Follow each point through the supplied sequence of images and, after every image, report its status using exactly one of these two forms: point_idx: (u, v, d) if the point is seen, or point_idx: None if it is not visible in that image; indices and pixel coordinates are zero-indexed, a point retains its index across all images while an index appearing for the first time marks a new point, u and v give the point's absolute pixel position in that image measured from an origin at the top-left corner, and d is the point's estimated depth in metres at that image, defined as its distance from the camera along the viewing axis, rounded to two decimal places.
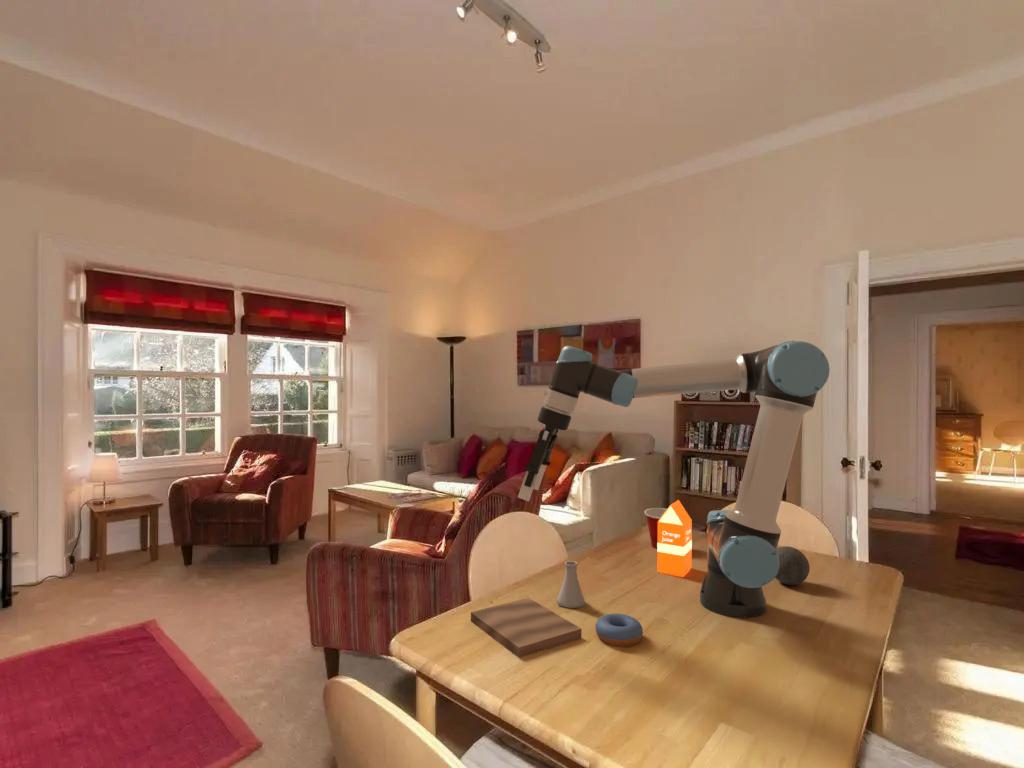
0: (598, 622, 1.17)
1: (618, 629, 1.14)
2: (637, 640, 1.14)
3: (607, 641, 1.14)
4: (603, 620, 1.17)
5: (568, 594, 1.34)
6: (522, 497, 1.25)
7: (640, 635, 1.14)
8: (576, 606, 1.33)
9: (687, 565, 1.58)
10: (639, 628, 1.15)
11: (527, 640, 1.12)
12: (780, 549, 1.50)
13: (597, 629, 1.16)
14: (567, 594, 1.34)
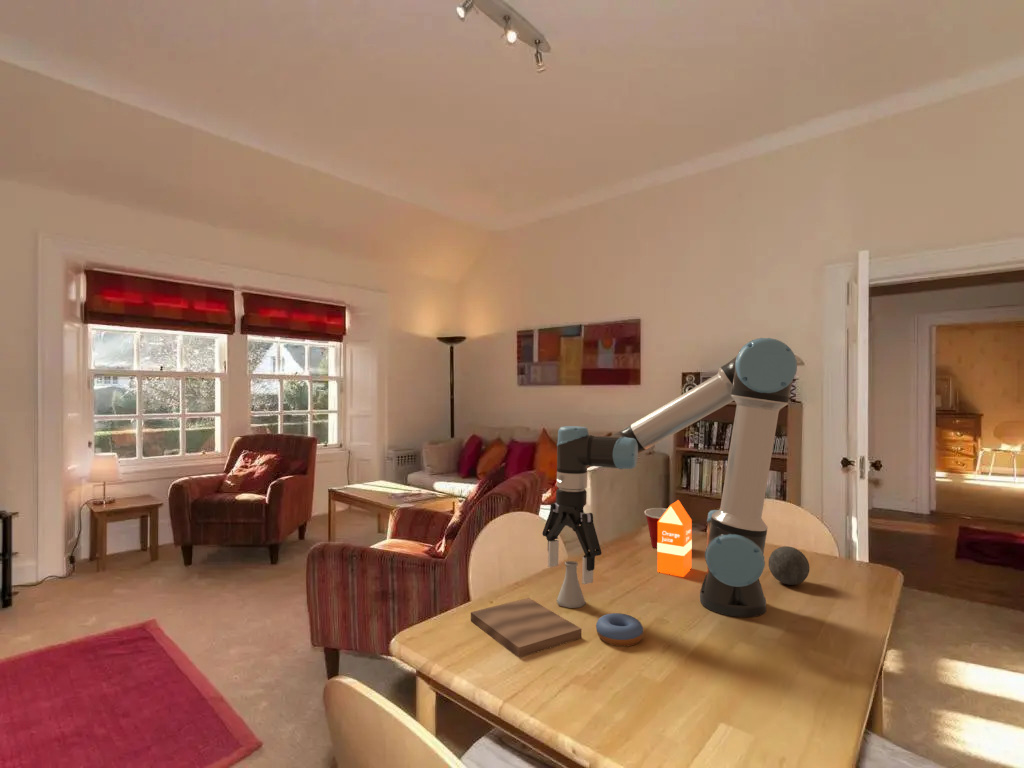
0: (599, 622, 1.17)
1: (619, 629, 1.14)
2: (638, 640, 1.14)
3: (608, 641, 1.14)
4: (604, 620, 1.18)
5: (568, 594, 1.34)
6: (587, 582, 1.30)
7: (641, 635, 1.15)
8: (576, 606, 1.33)
9: (687, 565, 1.58)
10: (640, 628, 1.15)
11: (527, 640, 1.12)
12: (780, 549, 1.50)
13: (598, 629, 1.16)
14: (567, 594, 1.34)
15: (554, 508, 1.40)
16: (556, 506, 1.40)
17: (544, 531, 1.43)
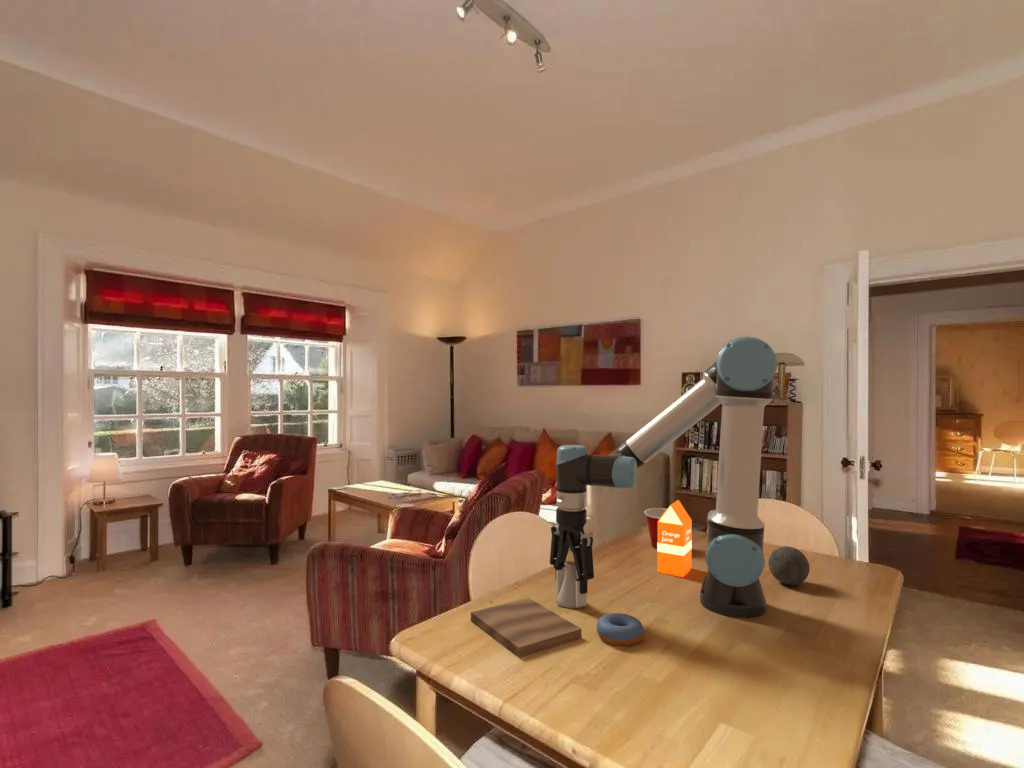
0: (600, 622, 1.17)
1: (619, 628, 1.14)
2: (638, 640, 1.14)
3: (608, 640, 1.14)
4: (604, 620, 1.18)
5: (568, 594, 1.34)
6: (581, 605, 1.32)
7: (641, 635, 1.15)
8: None
9: (687, 565, 1.58)
10: (640, 628, 1.15)
11: (527, 640, 1.12)
12: (780, 549, 1.50)
13: (598, 629, 1.16)
14: (567, 595, 1.34)
15: (555, 530, 1.40)
16: (556, 528, 1.40)
17: (551, 559, 1.41)
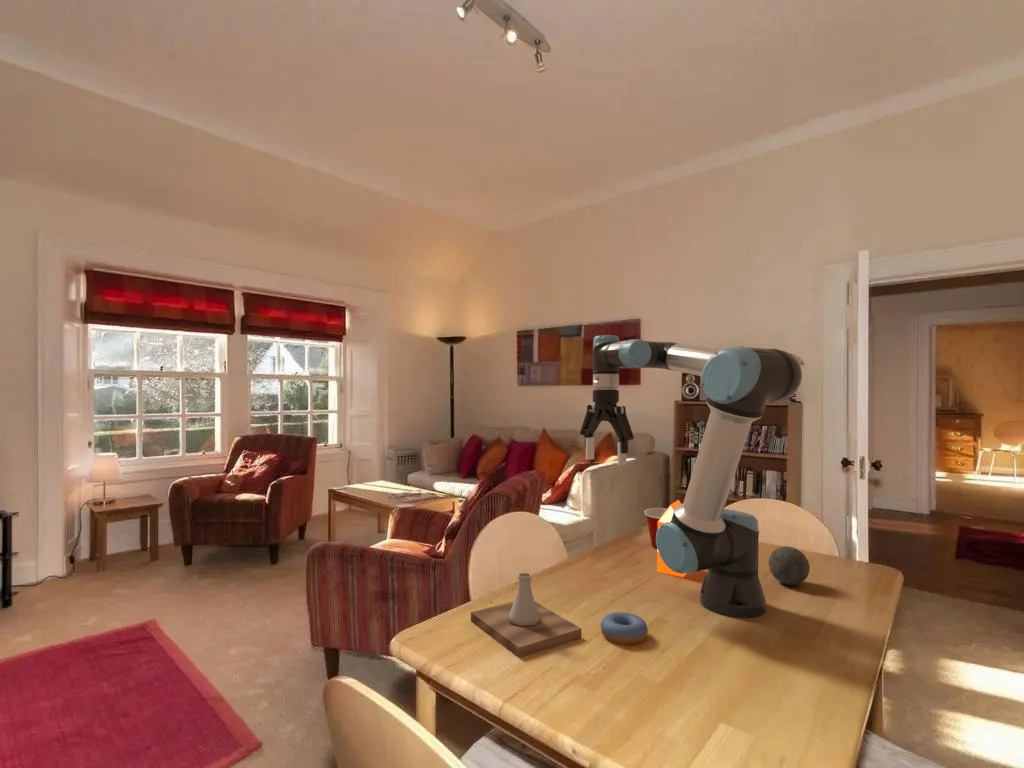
0: (604, 621, 1.18)
1: (623, 627, 1.14)
2: (642, 638, 1.14)
3: (612, 639, 1.15)
4: (608, 619, 1.18)
5: (520, 610, 1.19)
6: (622, 463, 1.53)
7: (645, 633, 1.15)
8: (529, 624, 1.18)
9: None
10: (644, 626, 1.16)
11: (527, 640, 1.12)
12: (780, 549, 1.50)
13: (602, 628, 1.17)
14: (520, 610, 1.19)
15: (590, 408, 1.64)
16: (592, 407, 1.64)
17: (581, 430, 1.66)
